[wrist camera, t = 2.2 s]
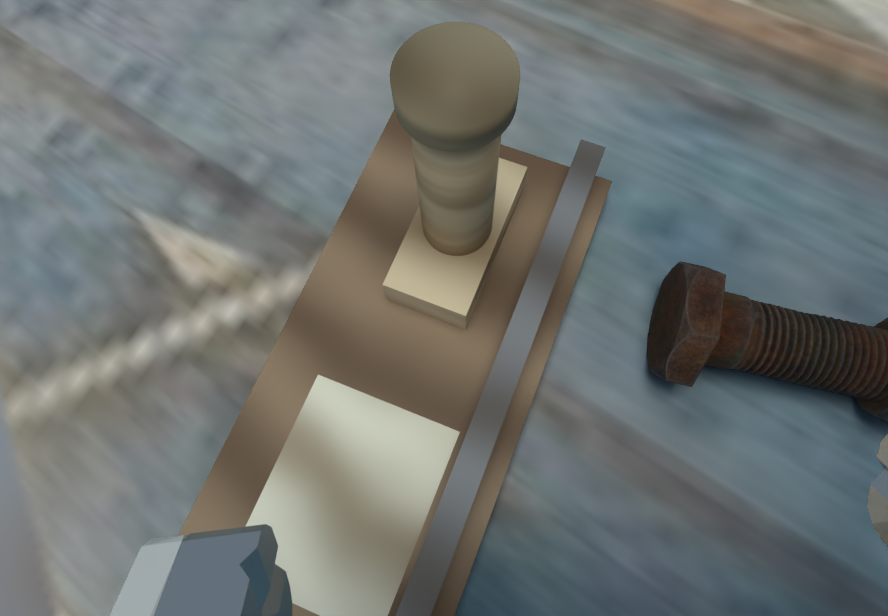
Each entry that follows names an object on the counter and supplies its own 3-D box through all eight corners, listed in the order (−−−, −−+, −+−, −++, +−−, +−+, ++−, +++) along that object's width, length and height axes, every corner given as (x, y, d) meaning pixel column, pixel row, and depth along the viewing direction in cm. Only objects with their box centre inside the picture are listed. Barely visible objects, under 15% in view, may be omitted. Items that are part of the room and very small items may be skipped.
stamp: (450, 163, 32) (443, -38, 21) (523, 188, 32) (559, -4, 20) (387, 300, 30) (340, 158, 18) (465, 329, 29) (468, 202, 18)
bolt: (942, 424, 31) (637, 353, 32) (981, 325, 30) (665, 256, 31) (1039, 476, 25) (664, 388, 26) (1092, 356, 24) (699, 270, 25)
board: (397, 126, 35) (389, 77, 31) (605, 195, 33) (624, 153, 29) (158, 602, 27) (109, 615, 23) (412, 725, 26) (404, 760, 22)
